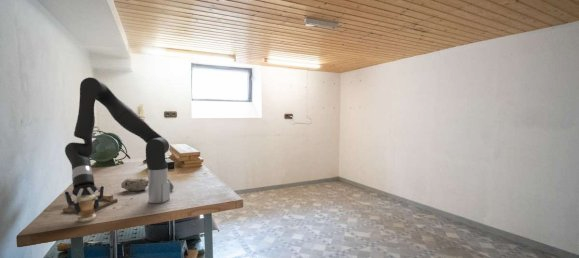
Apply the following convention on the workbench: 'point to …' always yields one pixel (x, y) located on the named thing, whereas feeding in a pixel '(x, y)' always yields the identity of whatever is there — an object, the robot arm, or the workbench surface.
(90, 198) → the bobbin
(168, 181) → the flashlight
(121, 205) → the workbench surface
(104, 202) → the notched board
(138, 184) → the pumice stone
